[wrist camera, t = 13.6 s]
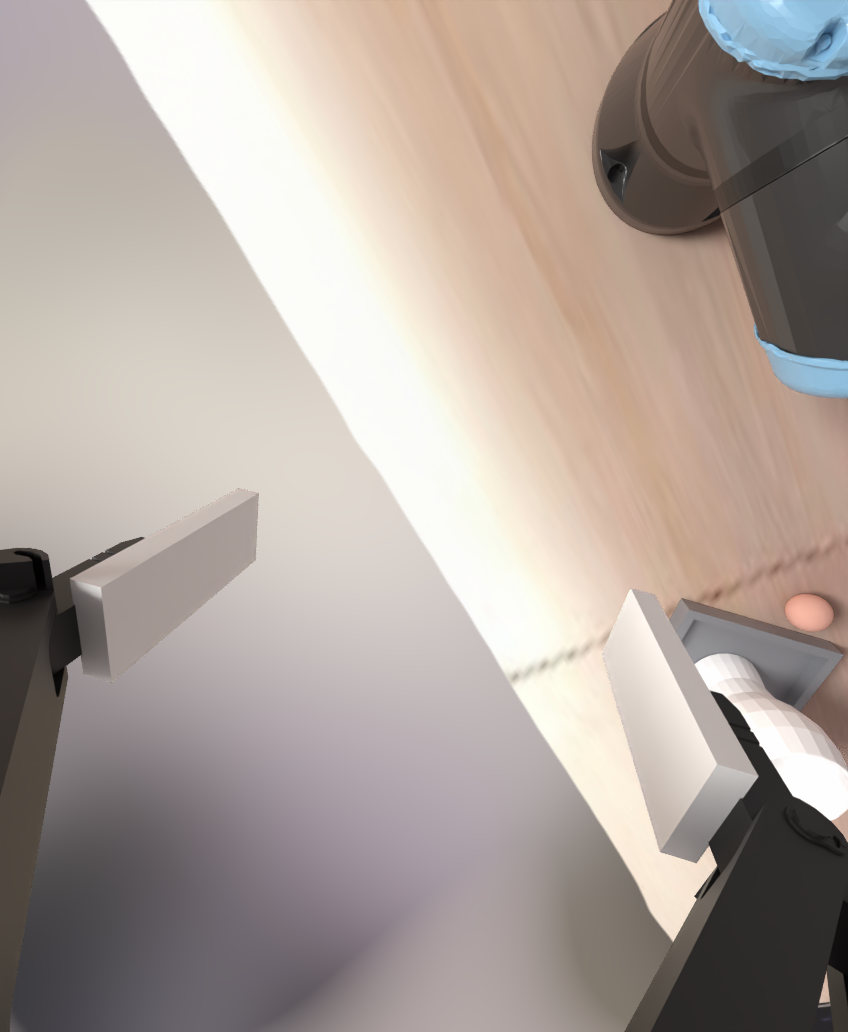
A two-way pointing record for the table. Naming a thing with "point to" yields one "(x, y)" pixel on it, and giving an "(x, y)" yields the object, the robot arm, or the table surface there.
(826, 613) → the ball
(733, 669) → the cup
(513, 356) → the table surface
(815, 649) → the tray
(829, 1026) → the smartphone
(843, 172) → the robot arm
